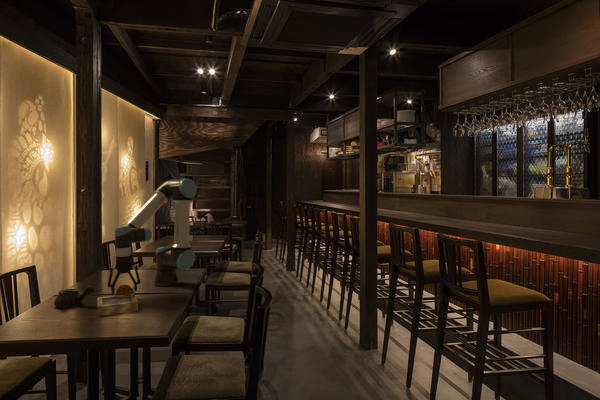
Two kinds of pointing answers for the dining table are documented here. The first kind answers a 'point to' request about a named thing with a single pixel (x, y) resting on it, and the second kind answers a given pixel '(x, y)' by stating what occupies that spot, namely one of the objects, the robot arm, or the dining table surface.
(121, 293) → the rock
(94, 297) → the dining table surface
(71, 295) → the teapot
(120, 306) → the plinth
